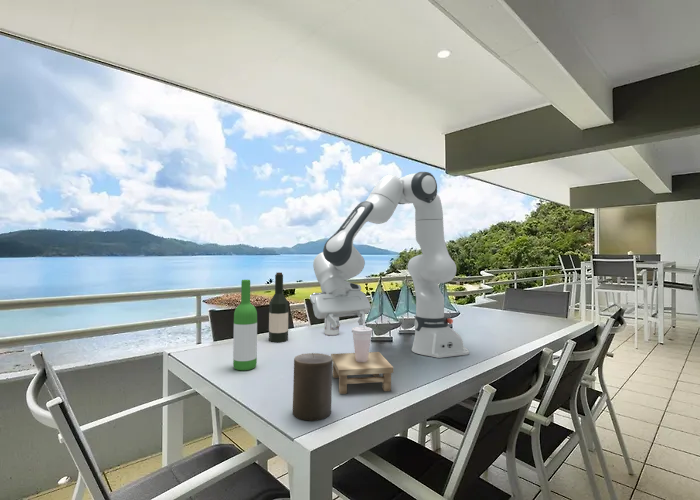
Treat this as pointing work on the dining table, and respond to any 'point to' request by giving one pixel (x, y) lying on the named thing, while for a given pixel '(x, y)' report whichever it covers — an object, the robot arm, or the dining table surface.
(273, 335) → the wine bottle
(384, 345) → the dining table surface
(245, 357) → the wine bottle
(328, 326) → the bath foam
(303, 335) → the dining table surface
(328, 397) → the pillar candle
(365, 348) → the smoothie
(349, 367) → the footstool
